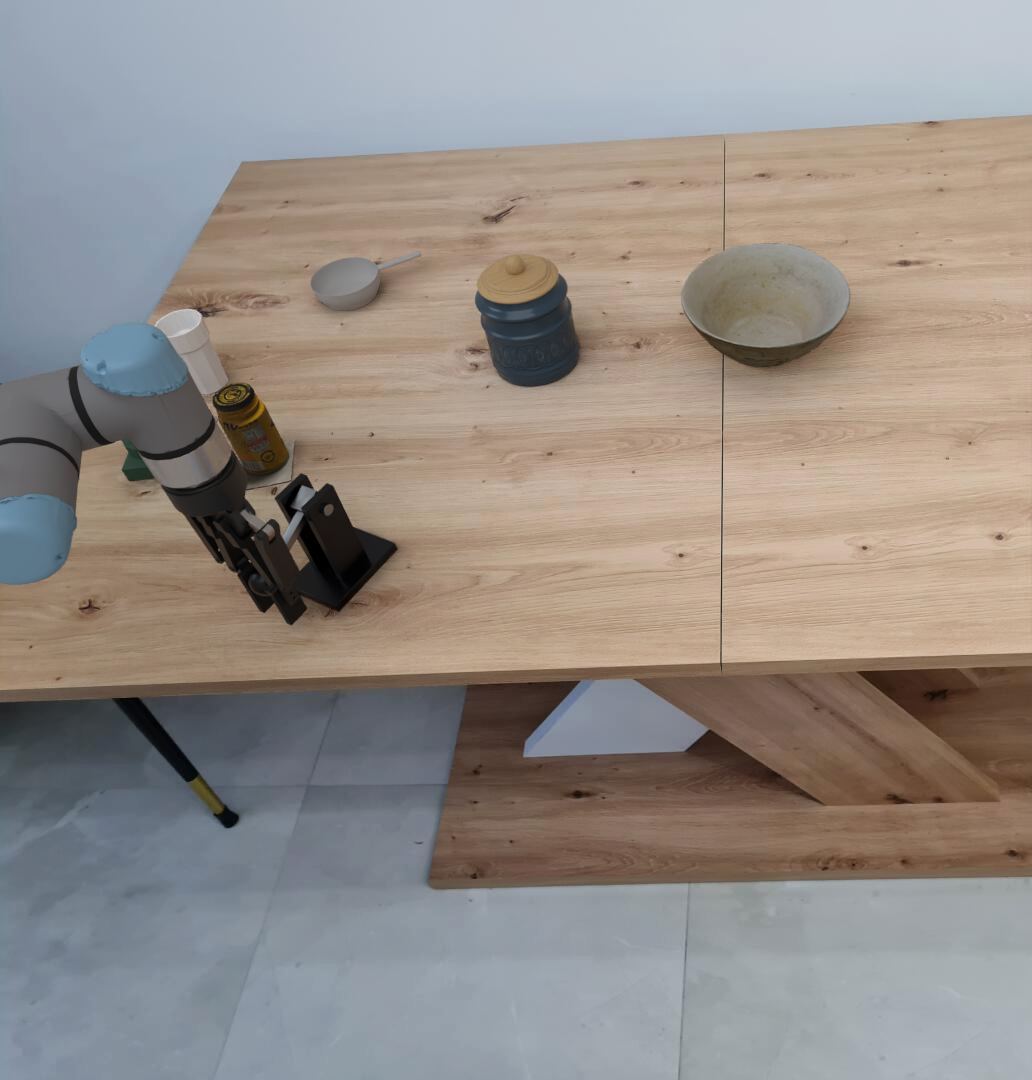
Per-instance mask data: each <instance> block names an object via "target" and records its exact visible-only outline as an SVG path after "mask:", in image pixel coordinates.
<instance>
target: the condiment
mask: <svg viewBox="0 0 1032 1080" xmlns="http://www.w3.org/2000/svg"><path fill="white" fill-rule="evenodd" d="M212 407H213V408H214V409H215V411H216V414H217V419H218V422H219V425H220V428H222V430H223V432H224V434H225V436H226V437H227V440H228V442H229V443H230V445H231V446H232V448H233V451H234V453H235V454H236V456H237V458H238V460H239V462H240V463H241V465H242V467H243V469H244V471H245V472H246V474H247V478H248V484H247V488H246V490H250V489H256V488H257V489H258V488H261V487H269V486H271V485H275V484H282V483H285V482H292V473H293V471H292V469H293V461H294V450H295V439H289V440H285V441H284V439H283V438H282V436H281V434H280V432H279V430H278V428H277V426H276V424H275V422H274V420H273V418H272V417H271V414H270V412H269V410H268V408H267V406H266V404H265V403H264V402H263V400H262V399H260V398H259V396H258V395H257V393H256V392H255V390H254V388H253V387H252V386H251V385H250V384H249V383H245V382H232V383H228V384H226V385H225V386H224V387H222V388H221V389H220V390H218V391H216V392H214V394H213V396H212Z"/></svg>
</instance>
